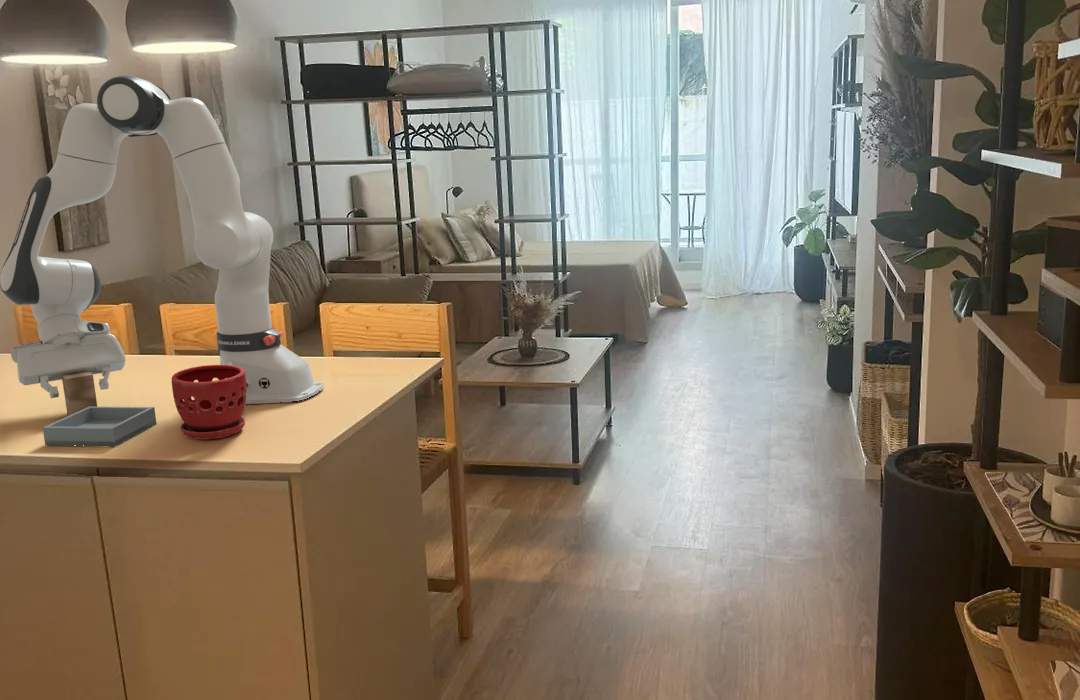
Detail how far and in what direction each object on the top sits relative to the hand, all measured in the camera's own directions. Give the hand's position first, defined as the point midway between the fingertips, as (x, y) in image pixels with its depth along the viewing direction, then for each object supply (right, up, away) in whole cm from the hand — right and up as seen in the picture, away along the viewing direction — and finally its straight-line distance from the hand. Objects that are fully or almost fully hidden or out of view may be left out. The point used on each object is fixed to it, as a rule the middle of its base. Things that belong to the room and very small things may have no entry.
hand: (80, 392), depth 193 cm
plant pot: (+33, -7, -14) cm, 36 cm away
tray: (+11, -8, -13) cm, 18 cm away
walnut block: (0, -5, +2) cm, 5 cm away
